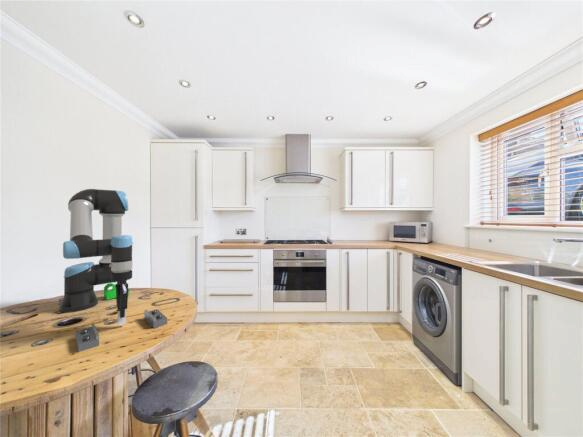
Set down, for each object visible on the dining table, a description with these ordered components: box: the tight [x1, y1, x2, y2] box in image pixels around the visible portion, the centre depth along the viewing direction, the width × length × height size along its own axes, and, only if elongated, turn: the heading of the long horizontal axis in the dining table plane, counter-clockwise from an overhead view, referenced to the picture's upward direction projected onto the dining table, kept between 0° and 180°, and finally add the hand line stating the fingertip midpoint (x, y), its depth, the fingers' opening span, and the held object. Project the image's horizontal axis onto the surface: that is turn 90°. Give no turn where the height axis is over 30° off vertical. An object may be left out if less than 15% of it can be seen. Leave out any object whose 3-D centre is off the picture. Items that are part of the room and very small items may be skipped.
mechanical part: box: [103, 283, 130, 301], centre depth 137 cm, size 12×6×8 cm, turn 143°
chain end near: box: [75, 323, 100, 353], centre depth 85 cm, size 14×6×4 cm, turn 48°
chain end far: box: [143, 308, 168, 329], centre depth 103 cm, size 14×6×4 cm, turn 48°
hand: (121, 324), depth 97 cm, fingers closed
